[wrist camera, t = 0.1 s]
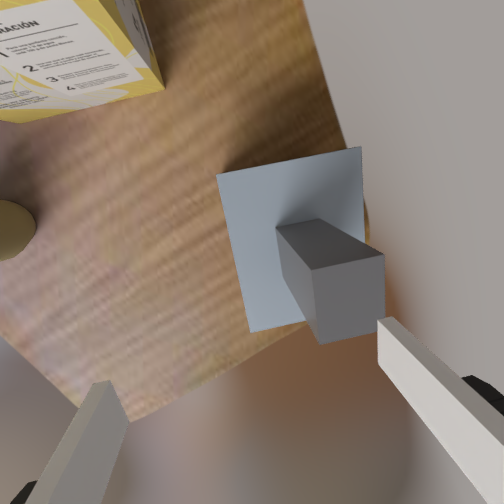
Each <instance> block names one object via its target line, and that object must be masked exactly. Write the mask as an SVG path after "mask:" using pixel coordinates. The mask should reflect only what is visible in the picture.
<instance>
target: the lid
mask: <svg viewBox="0 0 504 504" xmlns="http://www.w3.org/2000/svg"><path fill="white" fill-rule="evenodd" d="M361 152H362V151H361V147H354V148H349V149H344V150H338V151H333V152H328V153H323V154H318V155H313V156H308V157H302V158H297V159H292V160H287V161H282V162H277V163H272V164H267V165H261V166H256V167H251V168H246V169H241V170H236V171H231V172H225V173H220V174H216V177H217V182H218V186H219V191H220V195H221V200H222V205H223V209H224V214H225V218H226V223H227V227H228V232H229V237H230V241H231V246H232V250H233V255H234V259H235V264H236V268H237V273H238V278H239V282H240V287H241V291H242V296H243V300H244V305H245V310H246V314H247V319H248V323H249V328H250V332H251V333H252V332H257V331H261V330H265V329H270V328H274V327H279V326H283V325H288V324H292V323H296V322H301V321H305V320H306V321H307V322H308V324H309V326H310V328H311V330H312V332H313V333H314V335H315V337H316V339H317V341H318V343H319V344H320V345H321V344H325V343H329V342H334V341H338V340H343V339H347V338H351V337H355V336H360V335H364V334H368V333H373V332H377V331H378V323H377V320H379V319H383V318H385V259H384V258H385V255H384V254H383V253H381V252H379V251H377V250H376V249H374V248H372V247H370V246H368V245H367V244H365V233H364V205H363V178H362V153H361Z"/></svg>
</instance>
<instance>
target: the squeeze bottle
mask: <svg viewBox="0 0 504 504" xmlns="http://www.w3.org/2000/svg"><path fill="white" fill-rule="evenodd" d="M35 231H36V225H35V221H34V219H33V217H32V215H31V214H30V213H29V212H28V211H27V210H26V209H25V208H24V207H22V206H20V205H18V204H16V203H14V202H10V201H5V200H1V199H0V261H4V260H7V259H10V258H13V257H15V256H16V255H18V254H19V253H20V252H21V251H23V250H24V248H25V247H26V246H27V244H28V243H29V242H30V241H31V239H32V238H33V236H34V234H35Z"/></svg>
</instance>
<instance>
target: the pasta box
mask: <svg viewBox="0 0 504 504" xmlns="http://www.w3.org/2000/svg"><path fill="white" fill-rule="evenodd" d="M161 90H165V87H164V83H163V80H162V77H161V73H160V70H159V67H158V63H157V60H156V57H155V53H154V50H153V47H152V43H151V40H150V37H149V33H148V30H147V27H146V23H145V20H144V17H143V13H142V10H141V7H140V3H139V0H0V120H3V121H8V122H13V123H18V124H21V123H25V122H30V121H34V120H38V119H42V118H47V117H51V116H55V115H59V114H64V113H68V112H72V111H76V110H80V109H85V108H89V107H93V106H97V105H102V104H106V103H110V102H114V101H119V100H123V99H127V98H131V97H136V96H140V95H144V94H148V93H152V92H157V91H161Z"/></svg>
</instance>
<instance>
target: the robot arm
mask: <svg viewBox="0 0 504 504" xmlns="http://www.w3.org/2000/svg"><path fill="white" fill-rule="evenodd" d="M377 323H378V364H379V365H380V367H381V368H382V369H383V370H384V372H385V373H386V374H387V376H388V377H389V378H390V379H391V381H392V382H393V383H394V384H395V386H396V387H397V388H398V390H399V391H400V392H401V393H402V395H403V396H404V397H405V398H406V400H407V401H408V402H409V404H410V405H411V406H412V407H413V409H414V410H415V411H416V413H418V415H419V416H420V417H421V419H422V420H423V421H424V423H425V424H426V425H427V427H428V428H429V429H430V430H431V432H432V433H433V434H434V435H435V437H436V438H437V439H438V441H439V442H440V443H441V444H442V446H443V447H444V448H445V449H446V451H447V452H448V453H449V454H450V456H451V457H452V458H453V460H454V461H455V462H456V463H457V465H458V466H459V467H460V468H461V470H462V471H463V472H464V474H465V475H466V476H467V478H468V479H469V480H470V481H471V483H472V484H473V485H474V486H475V487H476V489H477V490H478V491H479V493H480V494H481V495H482V497H483V498H484V499H485V500H486V502H487V503H488V504H504V396H503V395H502V394H501V393H500V392H498V391H497V390H496V389H495V388H494V387H492V386H491V385H490V384H488V383H486V382H484V381H482V380H480V379H479V378H476V377H475V376H473V375H471V376H467V377H462V378H460V377H459V376H458V375H457V374H456V373H455V372H453V371H452V370H451V369H450V368H449V367H448V366H447V365H446V364H445V363H443V362H442V361H441V360H440V359H439V358H438V357H437V356H436V355H435V354H433V353H432V352H431V351H430V350H429V349H428V348H427V347H426V346H424V345H423V344H422V343H421V342H420V341H419V340H418V339H417V338H416V337H415V336H413V335H412V334H411V333H410V332H409V331H408V330H407V329H406V328H404V327H403V326H402V325H401V324H400V323H399V322H398V321H397V320H396V319H394V318H393V317H388V318H383V319H379V320H377ZM128 424H129V420H128V417H127V415H126V413H125V411H124V409H123V407H122V405H121V402H120V400H119V398H118V396H117V394H116V392H115V390H114V388H113V385H112V383H111V381H110V380H107V381H103V382H98V383H94V384H93V385H92V387H91V389H90V391H89V392H88V394H87V396H86V398H85V399H84V401H83V403H82V404H81V406H80V408H79V410H78V411H77V413H76V415H75V417H74V419H73V420H72V422H71V424H70V426H69V427H68V429H67V431H66V433H65V435H64V436H63V438H62V439H61V441H60V443H59V445H58V447H57V448H56V450H55V452H54V454H53V455H52V457H51V459H50V460H49V462H48V464H47V466H46V468H45V469H44V471H43V473H42V474H41V476H40V478H39V480H37V481H33V482H29V483H27V485H26V486H25V487H24V488H23V489H22V490H21V491H20V492H19V494H18V495H17V496H16V497H15V498H14V499H13V501H12V502H11V503H10V504H101V501H102V499H103V496H104V493H105V490H106V487H107V484H108V481H109V479H110V475H111V473H112V470H113V467H114V464H115V461H116V459H117V455H118V453H119V450H120V447H121V444H122V441H123V439H124V436H125V433H126V430H127V427H128Z"/></svg>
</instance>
